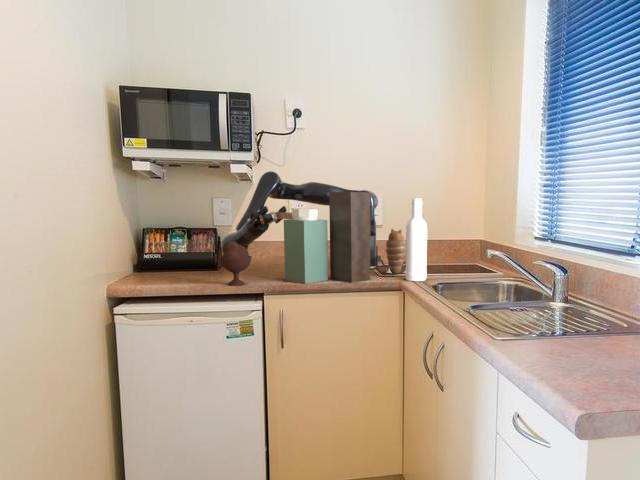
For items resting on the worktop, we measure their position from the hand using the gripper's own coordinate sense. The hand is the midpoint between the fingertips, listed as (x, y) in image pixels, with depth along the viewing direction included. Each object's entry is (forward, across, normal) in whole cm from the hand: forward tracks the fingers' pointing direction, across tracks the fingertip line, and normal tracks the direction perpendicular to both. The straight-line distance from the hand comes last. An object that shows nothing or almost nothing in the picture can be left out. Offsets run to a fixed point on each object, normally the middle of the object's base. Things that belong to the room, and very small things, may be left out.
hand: (276, 208), depth 194 cm
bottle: (+26, +28, +45) cm, 59 cm away
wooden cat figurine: (+14, +34, +38) cm, 53 cm away
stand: (+10, +12, +36) cm, 39 cm away
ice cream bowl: (-8, -22, +25) cm, 35 cm away
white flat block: (+8, 0, +9) cm, 12 cm away
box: (+1, 0, +31) cm, 31 cm away
